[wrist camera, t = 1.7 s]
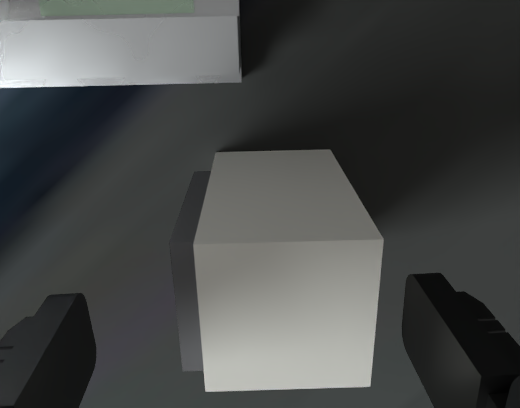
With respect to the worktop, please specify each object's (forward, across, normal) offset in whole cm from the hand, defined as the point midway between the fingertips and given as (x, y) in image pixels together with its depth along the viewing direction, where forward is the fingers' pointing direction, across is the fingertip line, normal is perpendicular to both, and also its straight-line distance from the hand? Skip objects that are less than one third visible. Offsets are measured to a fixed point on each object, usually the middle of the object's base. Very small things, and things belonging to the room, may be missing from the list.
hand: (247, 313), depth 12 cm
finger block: (+6, -1, 0) cm, 6 cm away
